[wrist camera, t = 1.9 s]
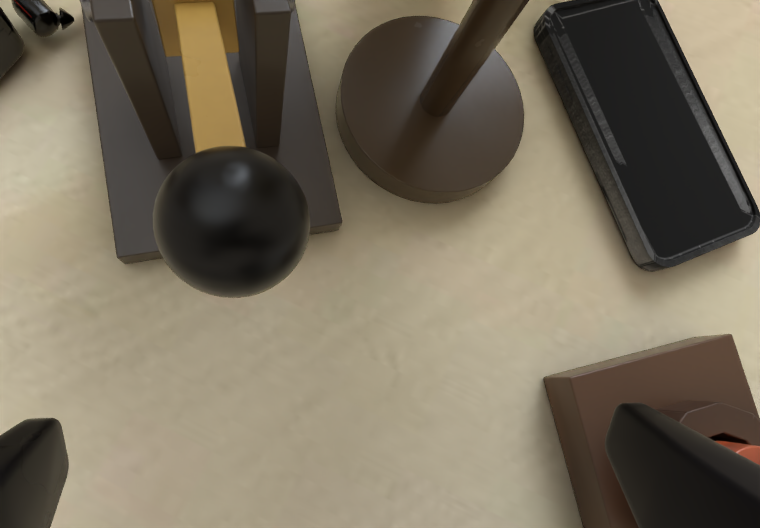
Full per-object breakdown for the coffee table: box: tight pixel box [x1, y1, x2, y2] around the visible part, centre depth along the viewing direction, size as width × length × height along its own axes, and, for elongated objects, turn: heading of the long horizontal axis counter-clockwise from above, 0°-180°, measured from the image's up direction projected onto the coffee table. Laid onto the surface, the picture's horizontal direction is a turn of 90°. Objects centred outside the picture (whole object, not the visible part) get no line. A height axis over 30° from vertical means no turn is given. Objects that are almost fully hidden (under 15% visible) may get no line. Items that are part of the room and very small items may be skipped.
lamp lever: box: [152, 0, 310, 298], centre depth 13 cm, size 12×3×3 cm, turn 13°
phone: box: [534, 0, 760, 271], centre depth 28 cm, size 8×1×15 cm
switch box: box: [544, 334, 760, 528], centre depth 22 cm, size 11×9×4 cm
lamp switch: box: [80, 0, 342, 264], centre depth 19 cm, size 12×9×10 cm
